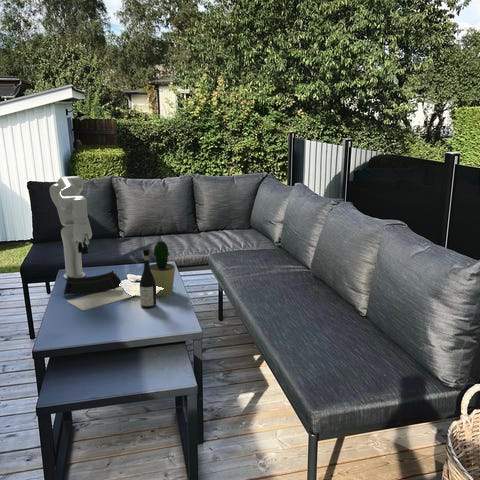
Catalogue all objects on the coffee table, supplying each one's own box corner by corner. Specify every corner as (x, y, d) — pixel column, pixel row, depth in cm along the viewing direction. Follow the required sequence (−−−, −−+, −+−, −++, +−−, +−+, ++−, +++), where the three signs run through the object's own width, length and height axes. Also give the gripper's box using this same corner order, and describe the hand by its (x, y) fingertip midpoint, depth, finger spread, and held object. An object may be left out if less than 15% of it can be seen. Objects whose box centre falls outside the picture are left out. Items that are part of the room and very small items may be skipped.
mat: (66, 301, 253) (66, 300, 253) (121, 287, 275) (121, 286, 275) (82, 310, 240) (82, 310, 240) (139, 295, 263) (139, 294, 263)
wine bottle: (152, 309, 243) (150, 252, 236) (138, 308, 244) (135, 251, 237) (158, 303, 250) (156, 248, 243) (144, 302, 252) (141, 247, 245)
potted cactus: (145, 289, 271) (143, 237, 264) (172, 286, 277) (171, 235, 270) (150, 298, 257) (148, 244, 250) (178, 295, 263) (177, 242, 256)
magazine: (57, 281, 256) (111, 260, 263) (57, 279, 259) (111, 258, 266) (70, 309, 261) (123, 287, 268) (70, 307, 264) (122, 286, 271)
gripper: (67, 219, 265) (69, 251, 270) (81, 223, 254) (83, 257, 258) (80, 217, 270) (82, 249, 275) (94, 222, 259) (96, 254, 263)
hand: (83, 252), depth 266 cm, fingers open, 3 cm apart
